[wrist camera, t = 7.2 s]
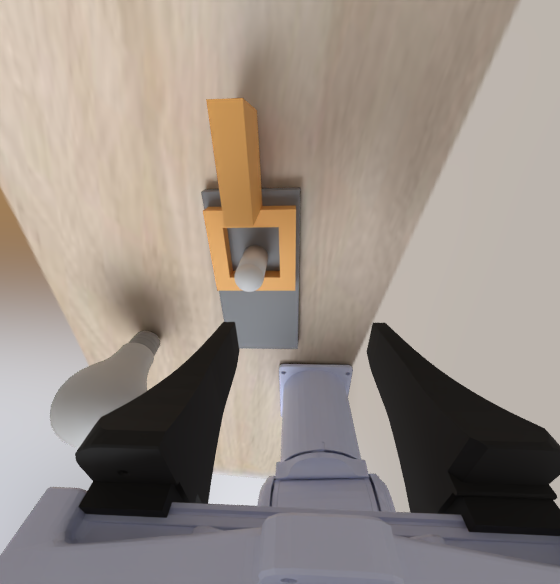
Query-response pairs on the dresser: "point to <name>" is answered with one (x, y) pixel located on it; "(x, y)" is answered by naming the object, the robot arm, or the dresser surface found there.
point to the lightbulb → (102, 388)
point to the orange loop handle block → (244, 196)
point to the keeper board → (262, 305)
